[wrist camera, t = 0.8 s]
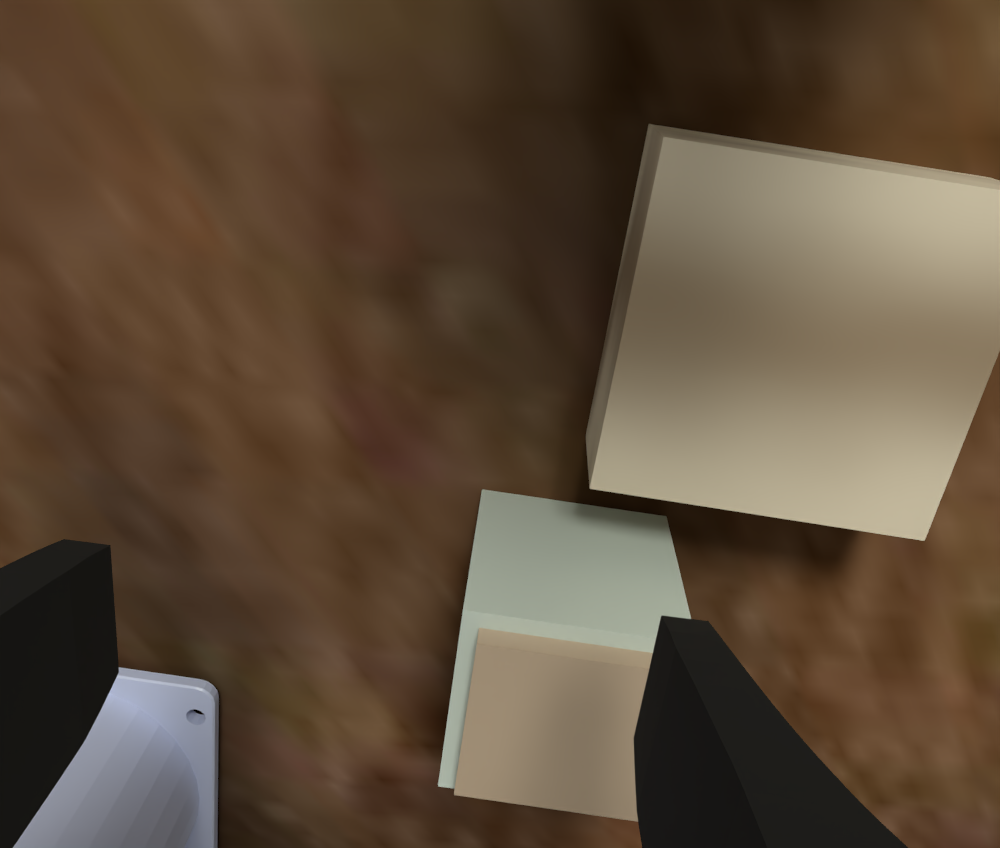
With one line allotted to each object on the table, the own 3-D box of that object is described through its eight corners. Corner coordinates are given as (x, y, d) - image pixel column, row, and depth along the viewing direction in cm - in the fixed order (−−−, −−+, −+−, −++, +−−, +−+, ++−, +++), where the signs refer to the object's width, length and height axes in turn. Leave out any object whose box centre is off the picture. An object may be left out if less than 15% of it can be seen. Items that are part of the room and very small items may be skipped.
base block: (876, 475, 21) (924, 540, 18) (584, 429, 21) (589, 488, 18) (982, 175, 18) (1059, 199, 15) (647, 122, 18) (663, 136, 15)
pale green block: (630, 663, 23) (651, 837, 18) (460, 639, 23) (435, 804, 18) (666, 515, 21) (701, 660, 16) (481, 488, 21) (460, 625, 16)
